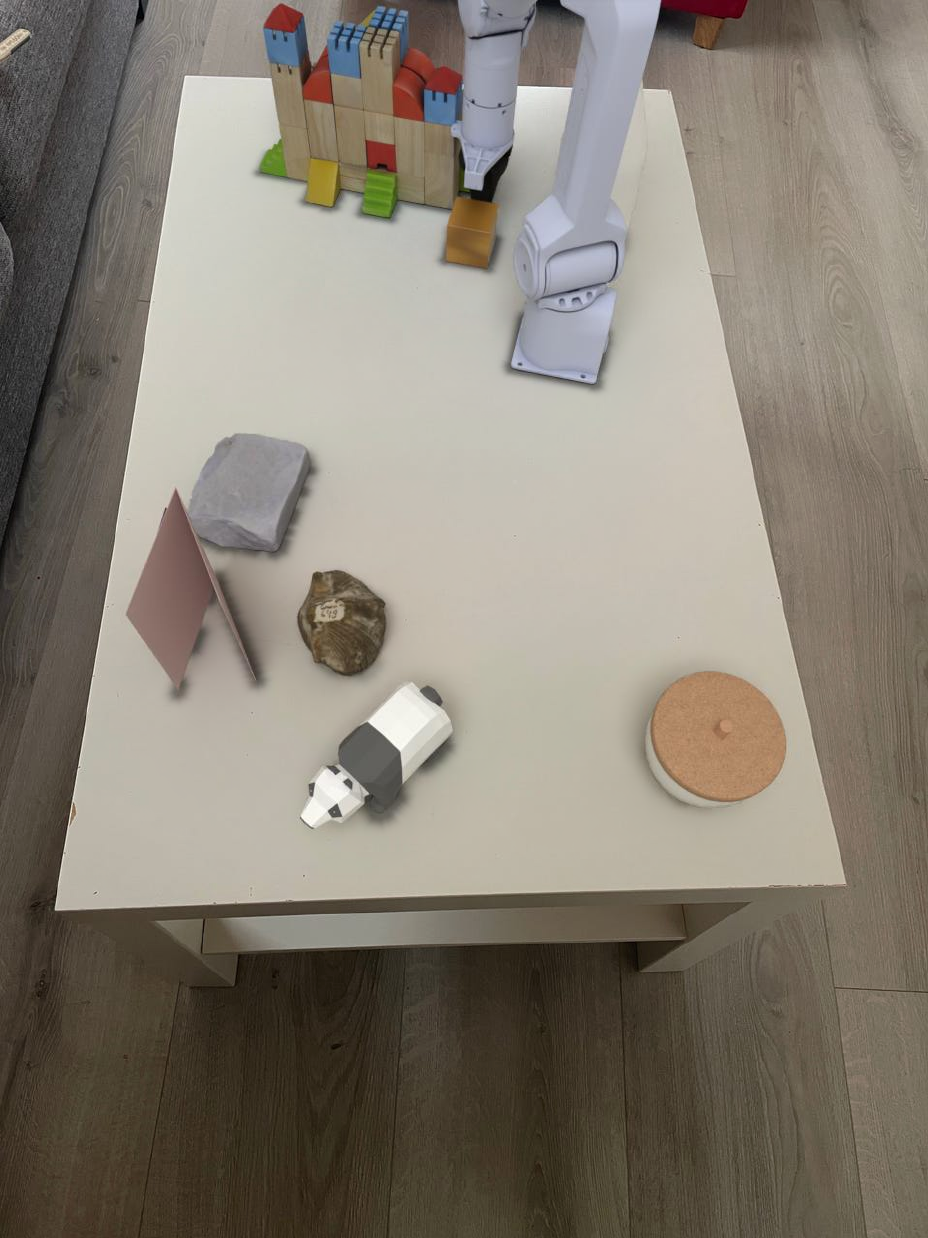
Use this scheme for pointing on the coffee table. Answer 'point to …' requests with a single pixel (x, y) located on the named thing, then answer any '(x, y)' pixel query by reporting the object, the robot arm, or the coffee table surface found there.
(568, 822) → the coffee table surface
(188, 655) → the greeting card
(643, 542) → the coffee table surface
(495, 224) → the ochre block
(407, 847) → the coffee table surface
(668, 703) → the trinket box
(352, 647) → the fossilized seashell
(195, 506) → the stone block
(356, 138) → the block set
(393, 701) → the giant panda
